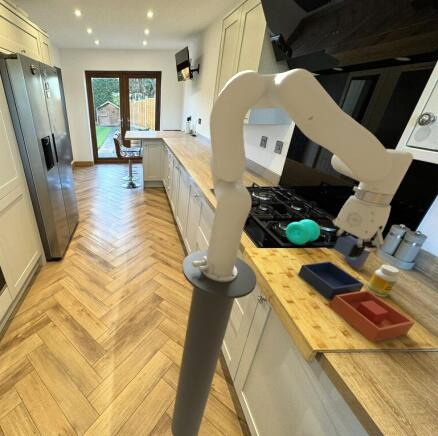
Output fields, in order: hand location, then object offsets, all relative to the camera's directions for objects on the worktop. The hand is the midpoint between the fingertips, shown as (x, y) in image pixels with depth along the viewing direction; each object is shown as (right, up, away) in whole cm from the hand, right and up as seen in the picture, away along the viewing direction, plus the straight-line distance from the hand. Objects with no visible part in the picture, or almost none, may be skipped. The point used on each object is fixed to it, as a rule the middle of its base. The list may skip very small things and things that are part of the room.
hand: (346, 251), depth 72 cm
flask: (+19, -8, +20) cm, 29 cm away
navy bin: (0, -13, +8) cm, 15 cm away
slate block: (0, 0, 0) cm, 0 cm away
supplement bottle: (+15, -14, +6) cm, 22 cm away
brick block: (+2, -19, -5) cm, 19 cm away
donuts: (+7, -1, +34) cm, 35 cm away
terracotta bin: (+2, -19, -5) cm, 20 cm away
